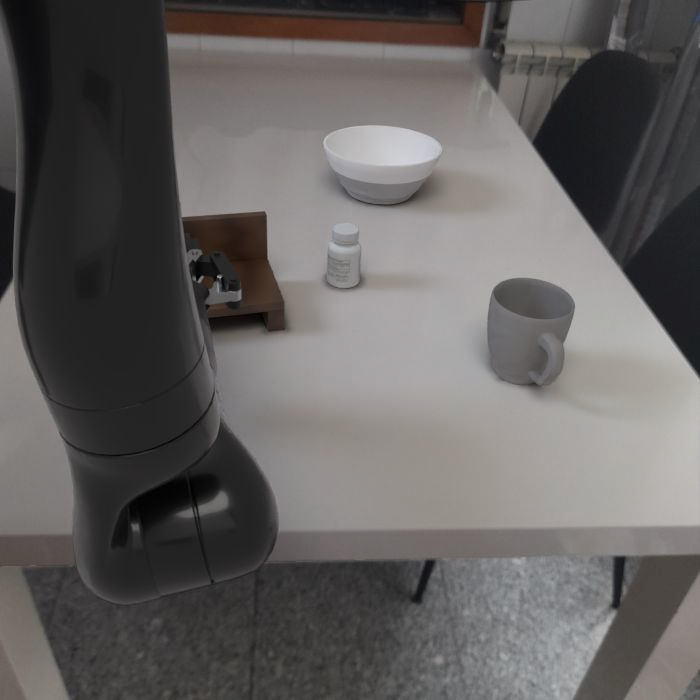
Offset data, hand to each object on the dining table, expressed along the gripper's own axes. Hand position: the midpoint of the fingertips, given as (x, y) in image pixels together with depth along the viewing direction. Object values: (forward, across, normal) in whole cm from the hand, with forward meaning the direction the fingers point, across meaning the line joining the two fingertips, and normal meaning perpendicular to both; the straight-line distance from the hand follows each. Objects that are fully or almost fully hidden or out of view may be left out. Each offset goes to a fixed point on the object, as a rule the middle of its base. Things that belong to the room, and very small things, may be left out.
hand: (149, 245), depth 64 cm
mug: (-4, -38, +18) cm, 43 cm away
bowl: (+49, -38, +17) cm, 64 cm away
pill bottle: (+21, -24, +18) cm, 36 cm away
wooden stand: (+16, -4, +18) cm, 24 cm away
